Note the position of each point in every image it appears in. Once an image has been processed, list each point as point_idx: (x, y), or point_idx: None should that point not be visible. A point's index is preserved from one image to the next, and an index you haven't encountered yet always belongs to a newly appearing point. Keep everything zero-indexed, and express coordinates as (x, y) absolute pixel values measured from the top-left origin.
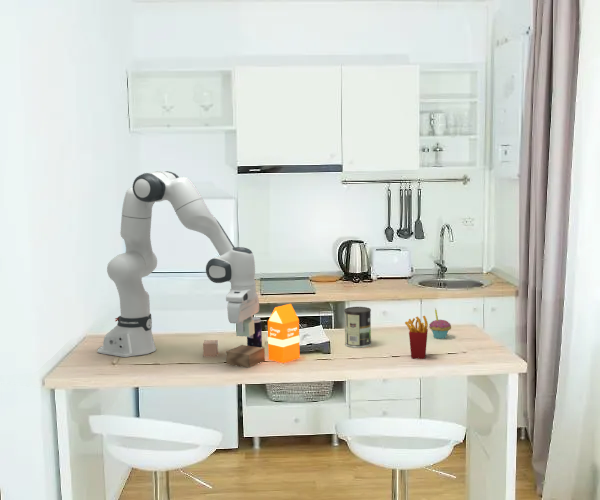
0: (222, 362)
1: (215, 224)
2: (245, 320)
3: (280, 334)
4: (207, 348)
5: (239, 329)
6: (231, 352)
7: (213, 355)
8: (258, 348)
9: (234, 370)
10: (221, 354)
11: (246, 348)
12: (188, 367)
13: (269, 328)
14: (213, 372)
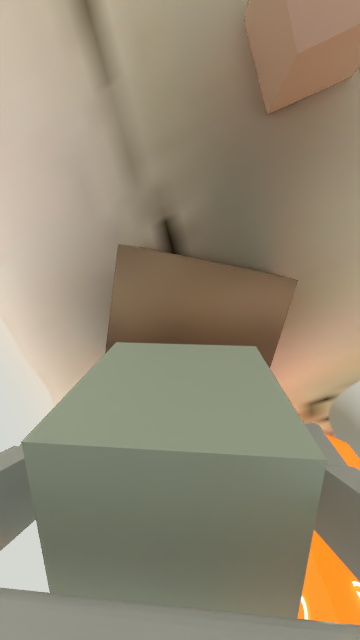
0: (158, 212)
1: None
2: (222, 556)
3: None
4: (264, 2)
5: None
6: (113, 286)
7: (263, 89)
8: None
9: (65, 322)
10: (308, 126)
11: (217, 342)
12: (16, 56)
13: (313, 598)
14: (3, 243)
